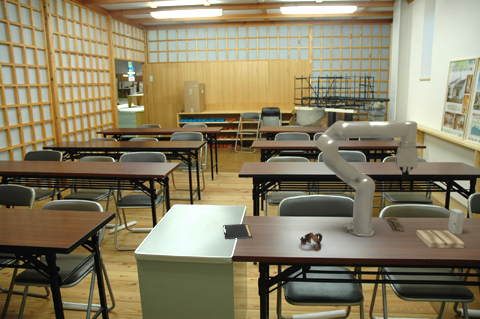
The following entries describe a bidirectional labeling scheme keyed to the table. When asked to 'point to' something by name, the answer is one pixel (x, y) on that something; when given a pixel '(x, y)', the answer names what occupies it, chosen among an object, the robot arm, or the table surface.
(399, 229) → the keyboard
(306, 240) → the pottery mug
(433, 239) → the plank
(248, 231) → the wallet
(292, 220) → the table surface
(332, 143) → the robot arm
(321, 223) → the table surface
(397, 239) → the table surface
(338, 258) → the table surface
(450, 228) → the skincare box
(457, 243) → the laid board
